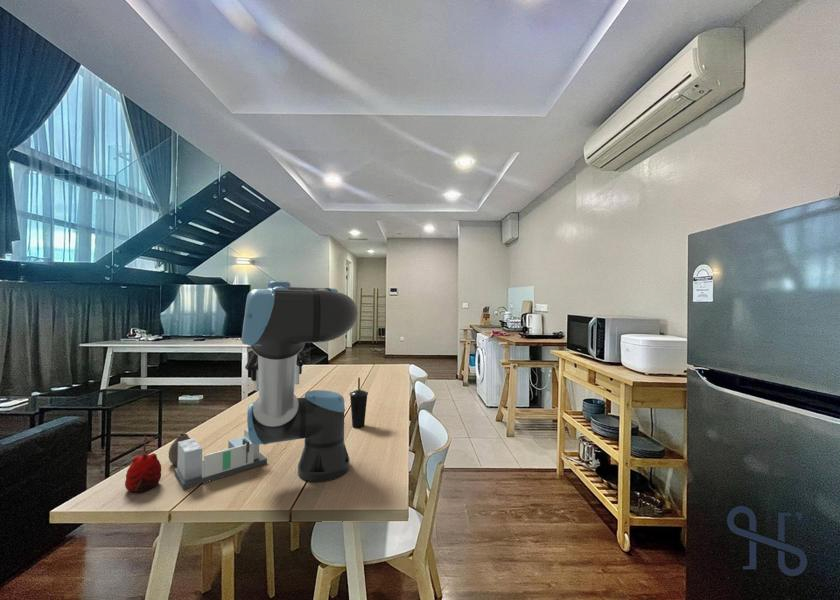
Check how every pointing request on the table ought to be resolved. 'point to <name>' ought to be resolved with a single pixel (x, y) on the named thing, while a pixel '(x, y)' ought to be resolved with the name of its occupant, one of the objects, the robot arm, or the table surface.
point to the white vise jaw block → (189, 459)
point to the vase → (176, 448)
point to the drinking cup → (358, 406)
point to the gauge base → (224, 464)
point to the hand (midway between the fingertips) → (277, 386)
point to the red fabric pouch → (143, 472)
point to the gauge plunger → (244, 441)
